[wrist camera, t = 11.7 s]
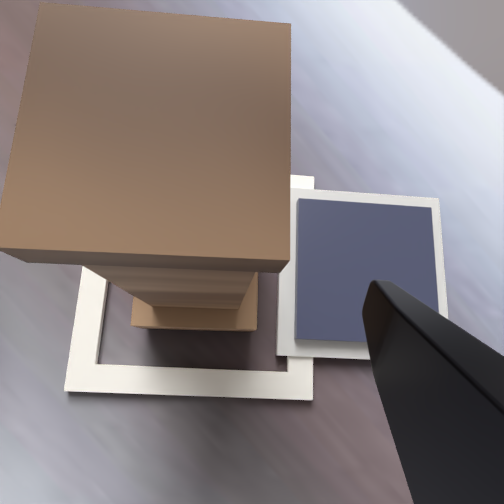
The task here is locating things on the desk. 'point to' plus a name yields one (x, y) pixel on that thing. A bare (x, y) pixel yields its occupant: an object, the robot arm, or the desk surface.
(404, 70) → the desk surface
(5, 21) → the desk surface
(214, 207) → the stamp
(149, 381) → the marked square
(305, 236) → the ink pad
